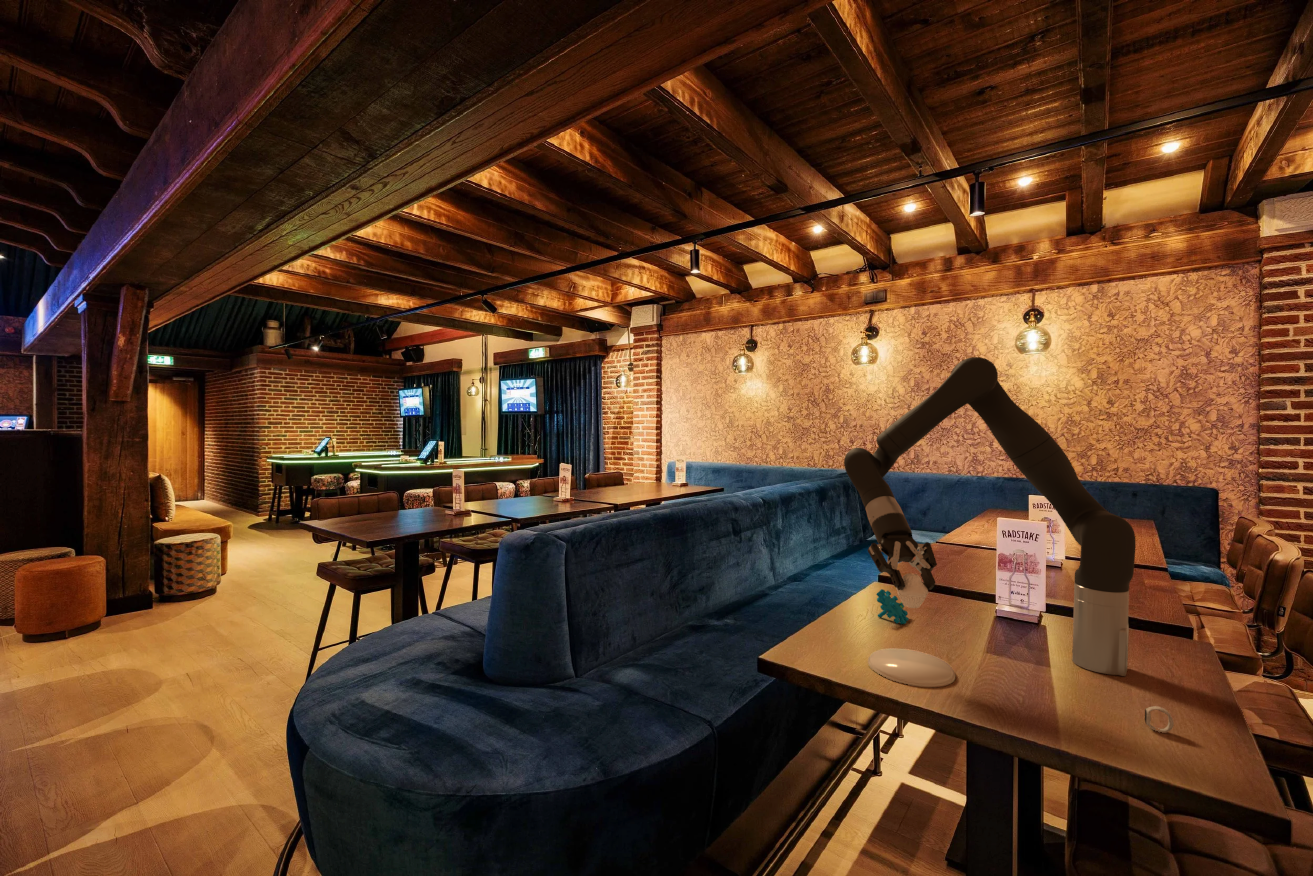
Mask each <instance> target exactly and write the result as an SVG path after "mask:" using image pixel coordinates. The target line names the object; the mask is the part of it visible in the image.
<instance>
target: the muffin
mask: <svg viewBox="0 0 1313 876" xmlns="http://www.w3.org/2000/svg"><path fill="white" fill-rule="evenodd" d="M902 578H903V580H904V583H905V587H904V589H903V590H898V589H897V588H896V587H895V589H896V592H897V596H898V597H899V599H900V601H901V602H902V604H903V605H904V607H907V608H909V609H919V608H921V605H922V604H923V603H924V602H925V600H926V598H927V596H928V594H929V590H928V589H927V588H926V586H925V584H924V582H923V579H922V577H921V575H919V574H917V573H913V572H912V573H910V572H909V573H906V574H904V575H902ZM901 602H900V603H901Z"/></svg>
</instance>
